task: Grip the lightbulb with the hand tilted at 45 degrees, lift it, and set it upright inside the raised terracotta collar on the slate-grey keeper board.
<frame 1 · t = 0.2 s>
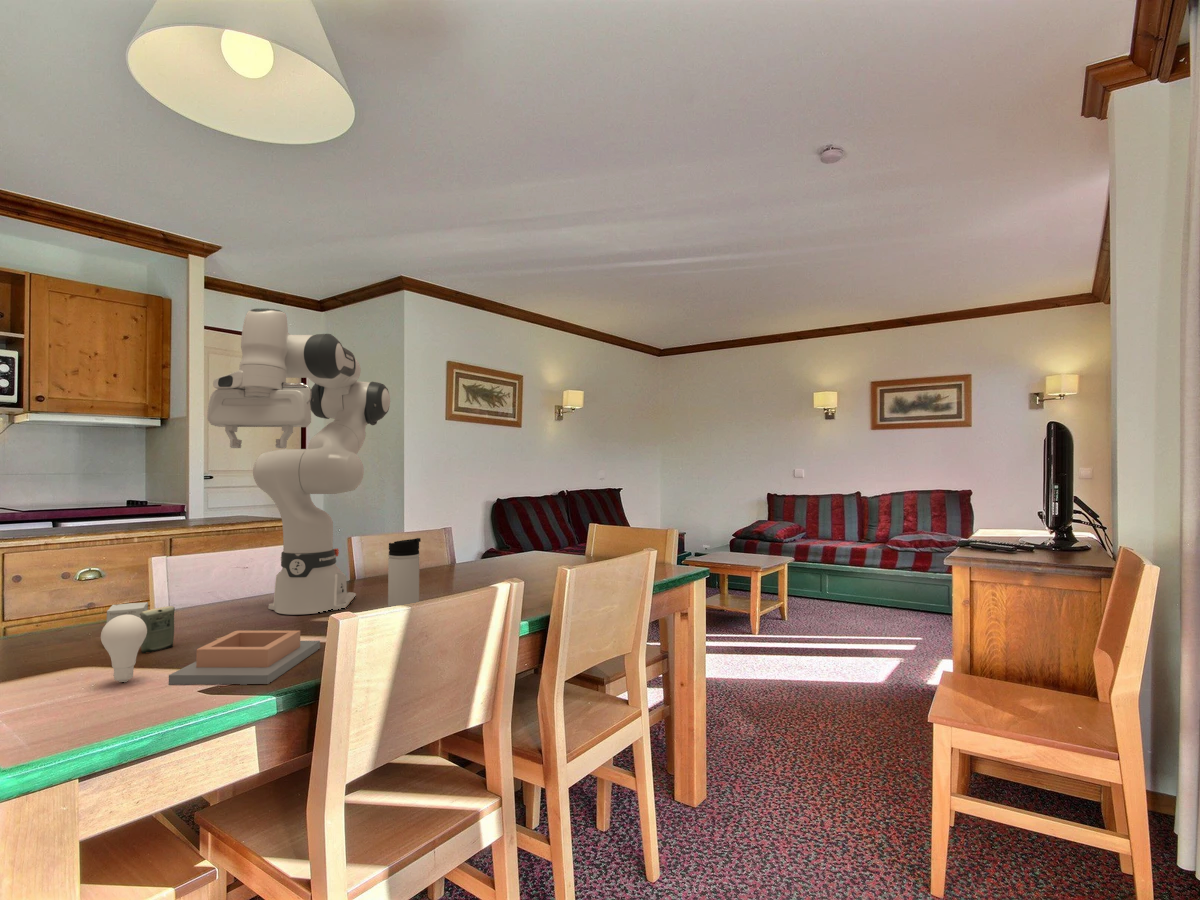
hand: (258, 448, 135), 39 cm above the table, tool pointing down, fingers open, 8 cm apart
product box: (127, 643, 129), on the table
labelled grey plug block: (155, 651, 124), on the table
keeper board: (250, 664, 115), on the table
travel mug: (404, 634, 136), on the table
lightbulb: (123, 683, 106), on the table
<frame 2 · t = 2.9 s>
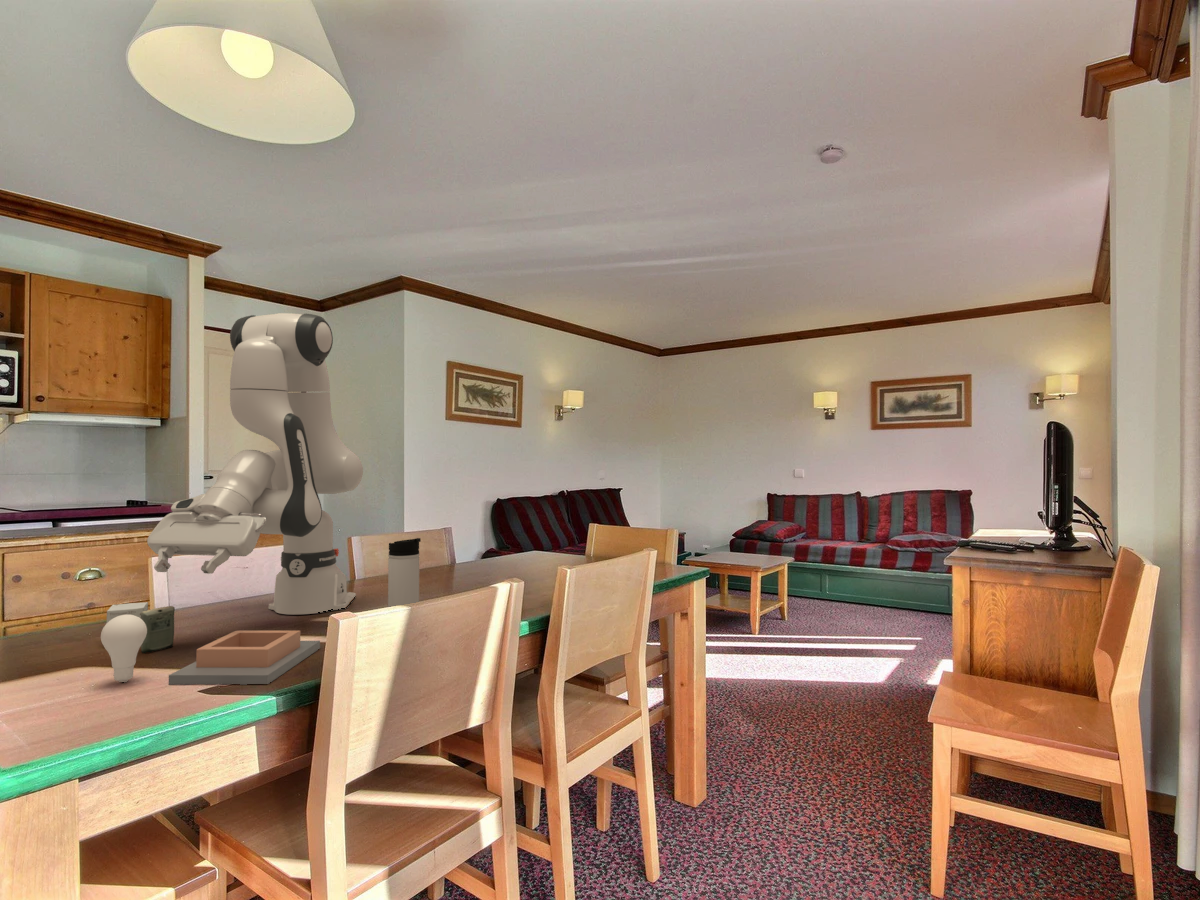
hand: (182, 571, 118), 16 cm above the table, tool tilted 45°, fingers open, 8 cm apart
nothing on the table moved.
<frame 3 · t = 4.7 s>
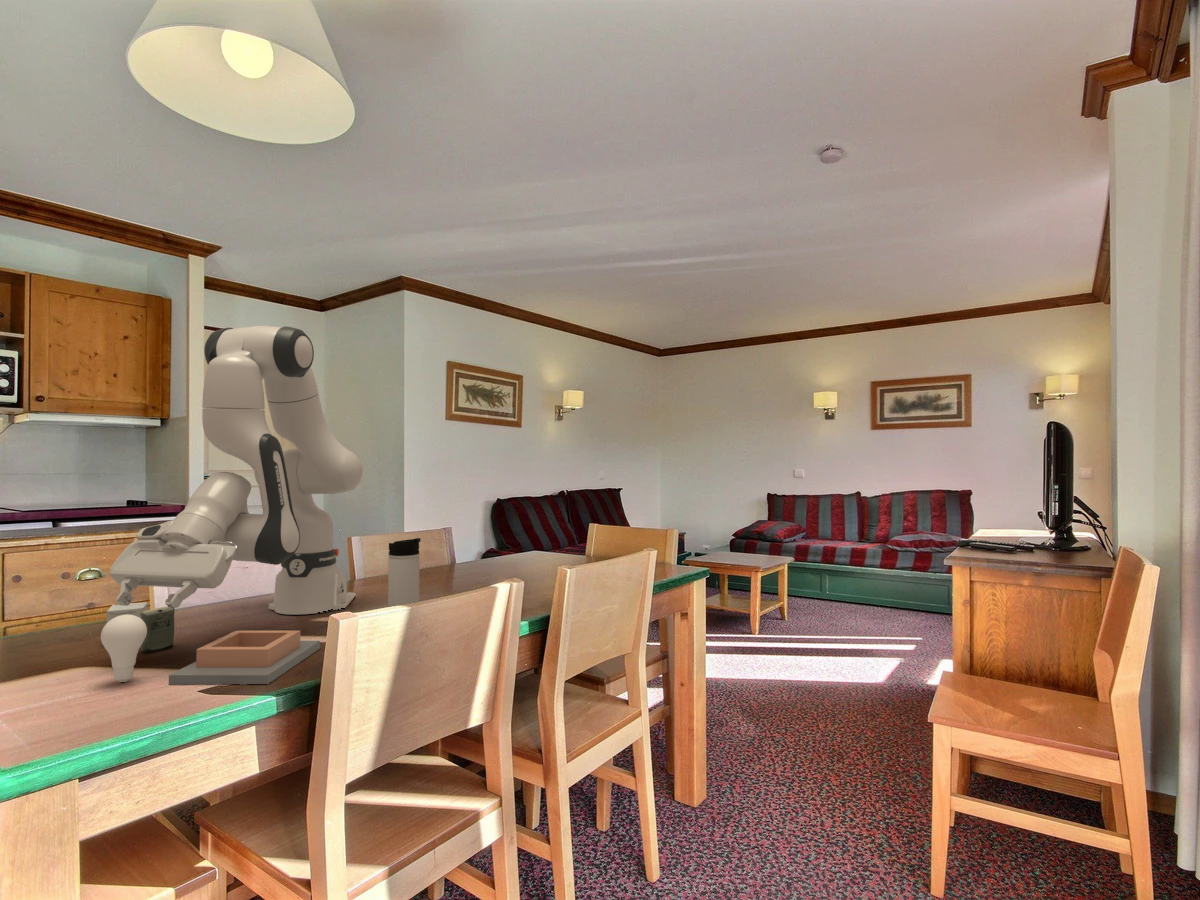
hand: (145, 604, 110), 12 cm above the table, tool tilted 45°, fingers open, 8 cm apart
nothing on the table moved.
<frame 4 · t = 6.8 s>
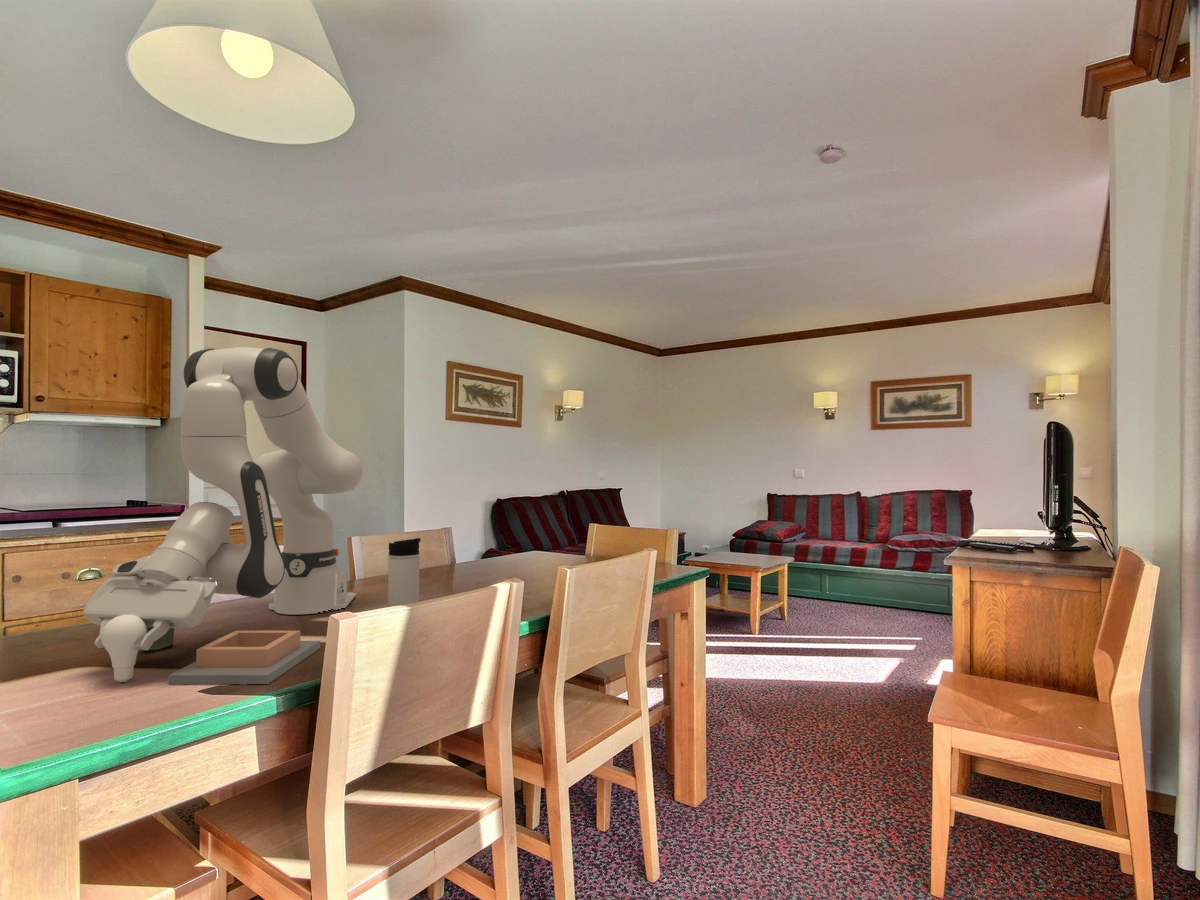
hand: (120, 647, 105), 6 cm above the table, tool tilted 45°, fingers closed on lightbulb, 6 cm apart
lightbulb: (123, 683, 106), on the table, touching gripper
everything else where it was.
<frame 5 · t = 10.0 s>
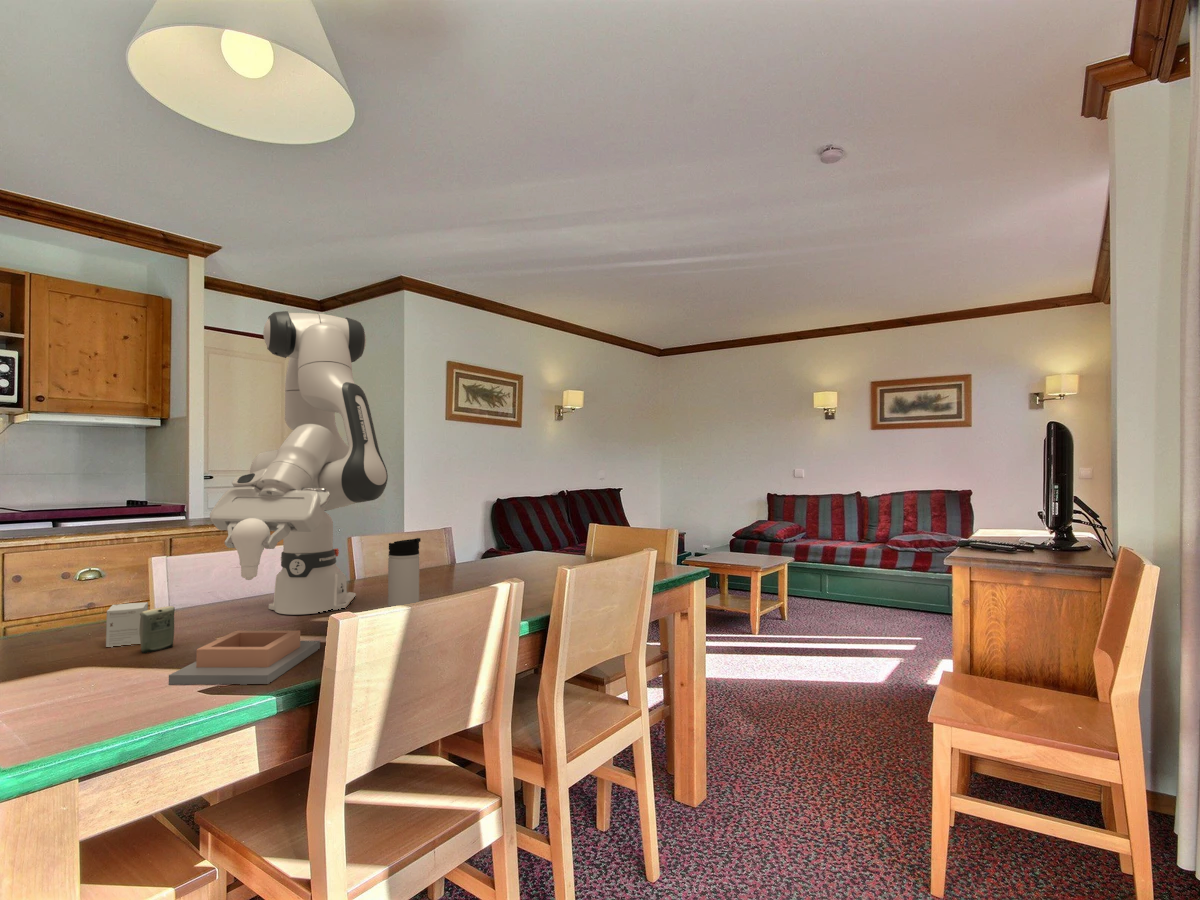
hand: (248, 546, 115), 21 cm above the table, tool tilted 45°, fingers closed on lightbulb, 6 cm apart
lightbulb: (248, 581, 115), point 15 cm above the table, touching gripper
everything else where it was.
when the fingers open (9 cm above the table, at t = 13.5 s): lightbulb drops 1 cm, resting on keeper board.
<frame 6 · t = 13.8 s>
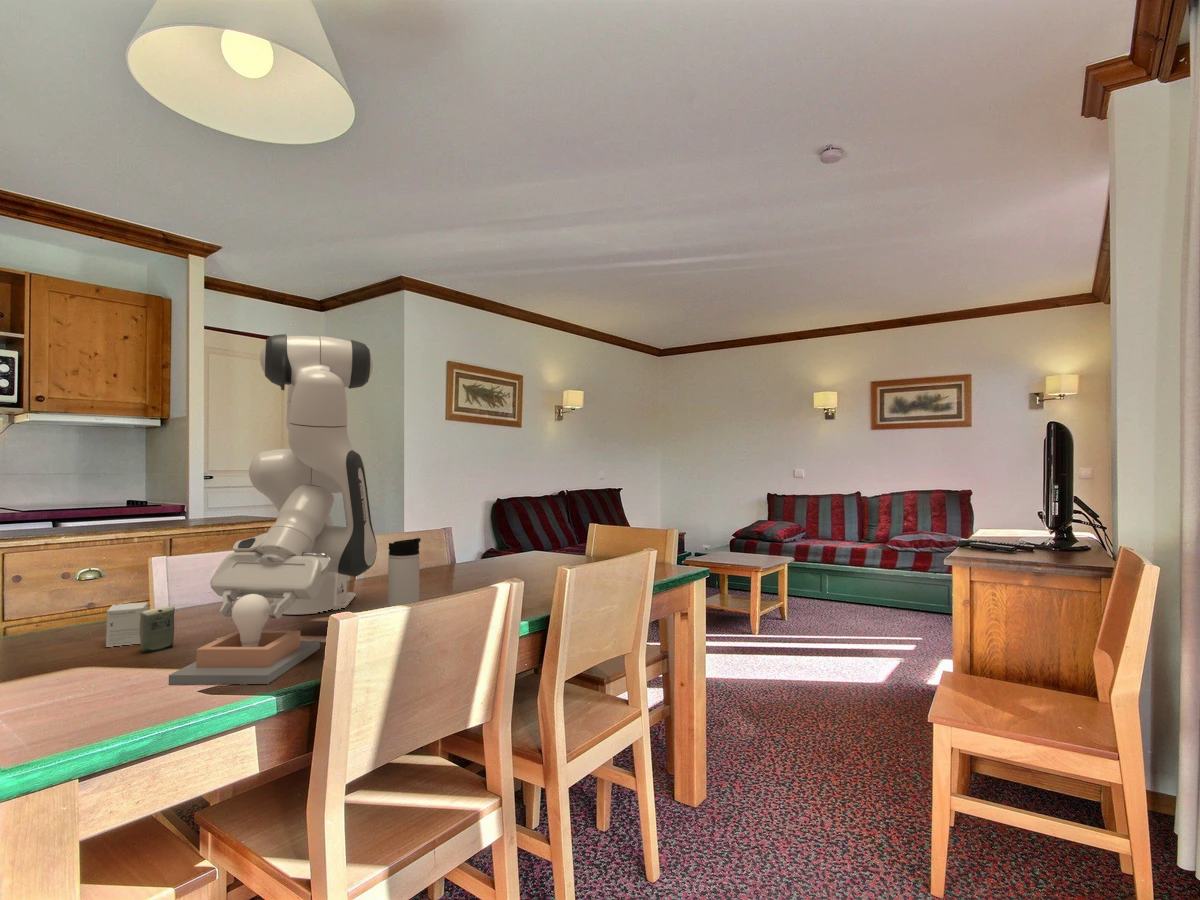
hand: (249, 615, 115), 9 cm above the table, tool tilted 45°, fingers open, 8 cm apart
lightbulb: (249, 657, 115), point 1 cm above the table, touching keeper board
everything else where it was.
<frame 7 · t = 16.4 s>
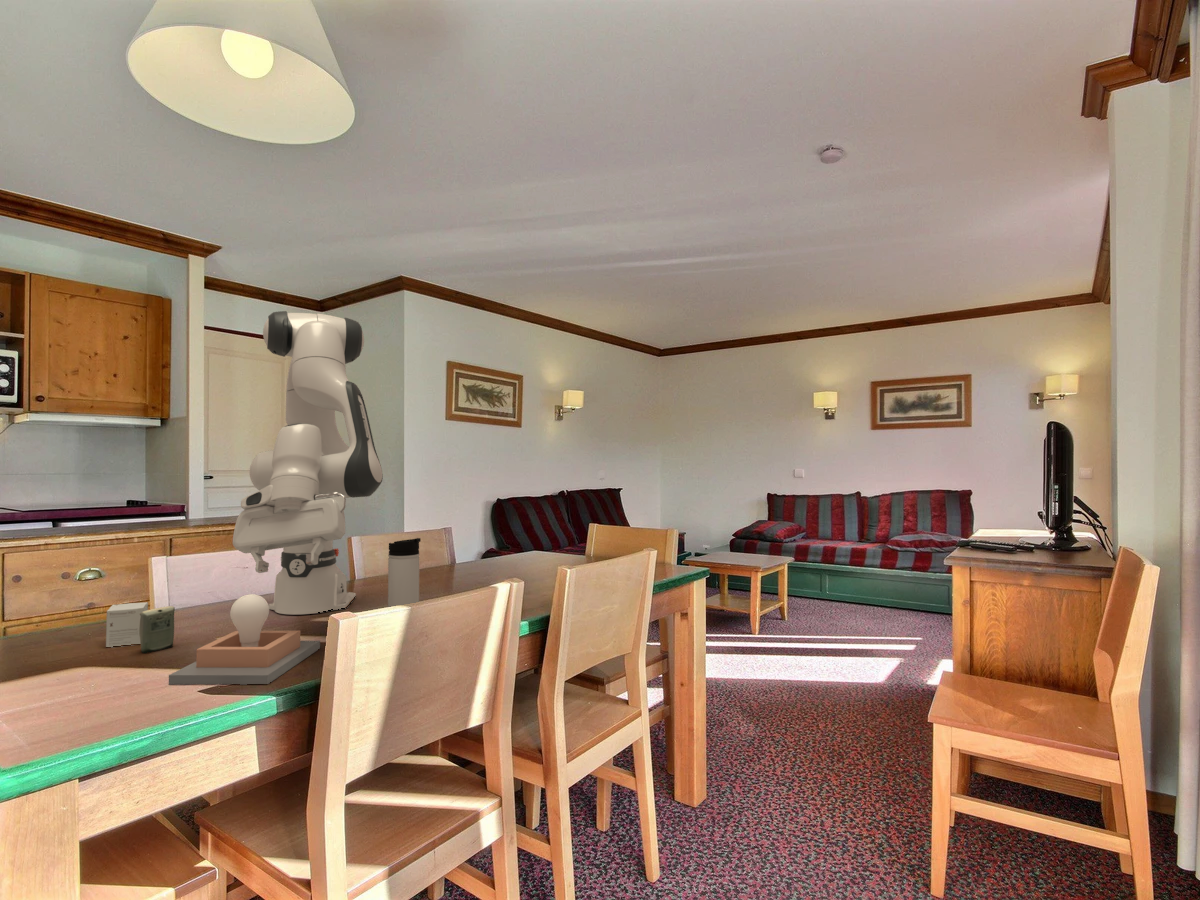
hand: (286, 568, 118), 17 cm above the table, tool tilted 25°, fingers open, 8 cm apart
nothing on the table moved.
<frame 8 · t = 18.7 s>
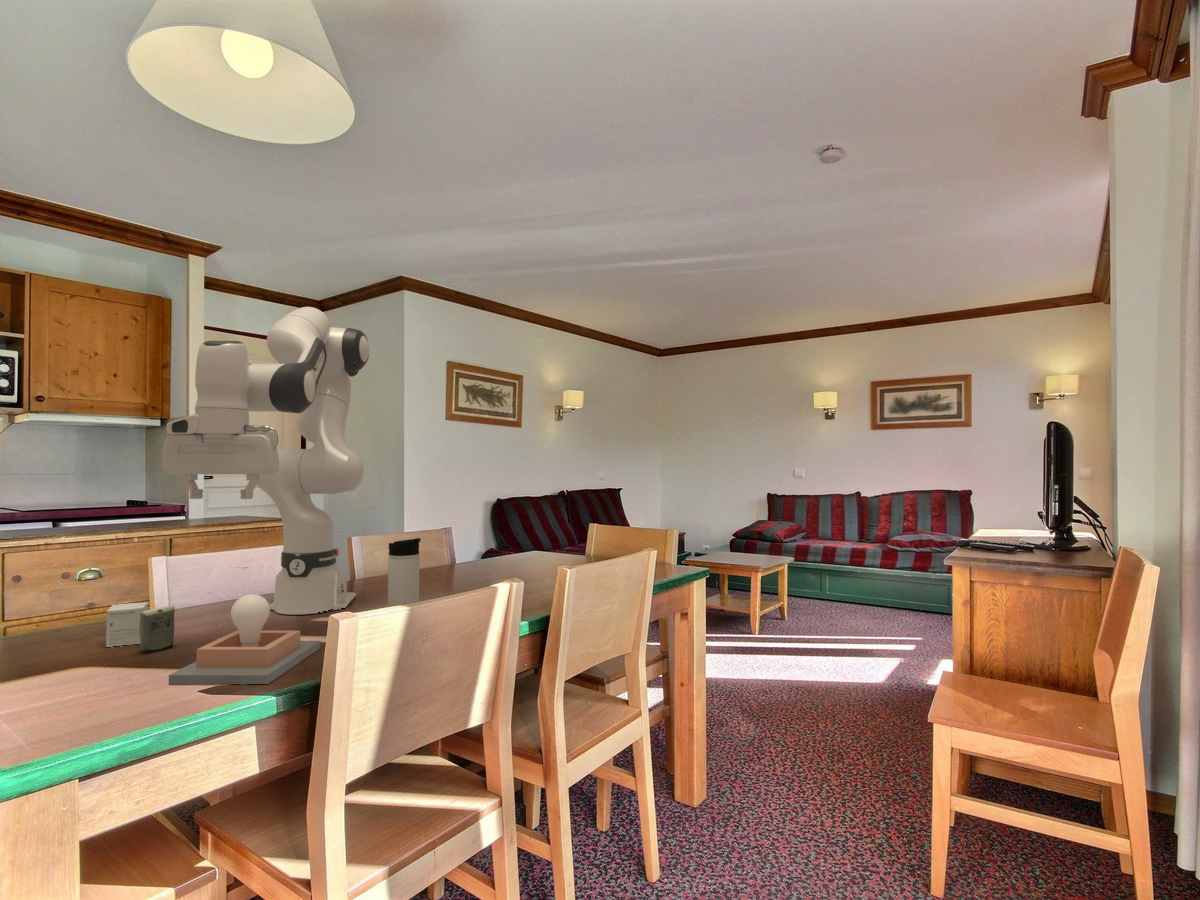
hand: (221, 498, 121), 29 cm above the table, tool pointing down, fingers open, 8 cm apart
nothing on the table moved.
at the end: lightbulb 0.1 cm off-centre on the keeper board, point 1.3 cm above the keeper board's base; lightbulb tilted 1°; the gripper is holding nothing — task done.
